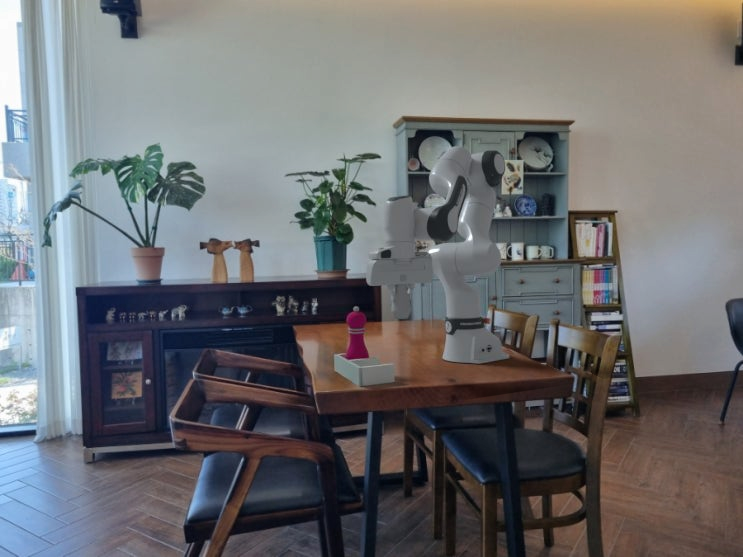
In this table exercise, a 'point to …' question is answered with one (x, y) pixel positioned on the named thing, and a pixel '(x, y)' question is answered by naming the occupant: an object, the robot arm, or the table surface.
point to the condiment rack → (364, 370)
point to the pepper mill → (356, 335)
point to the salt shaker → (401, 301)
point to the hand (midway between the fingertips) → (401, 300)
